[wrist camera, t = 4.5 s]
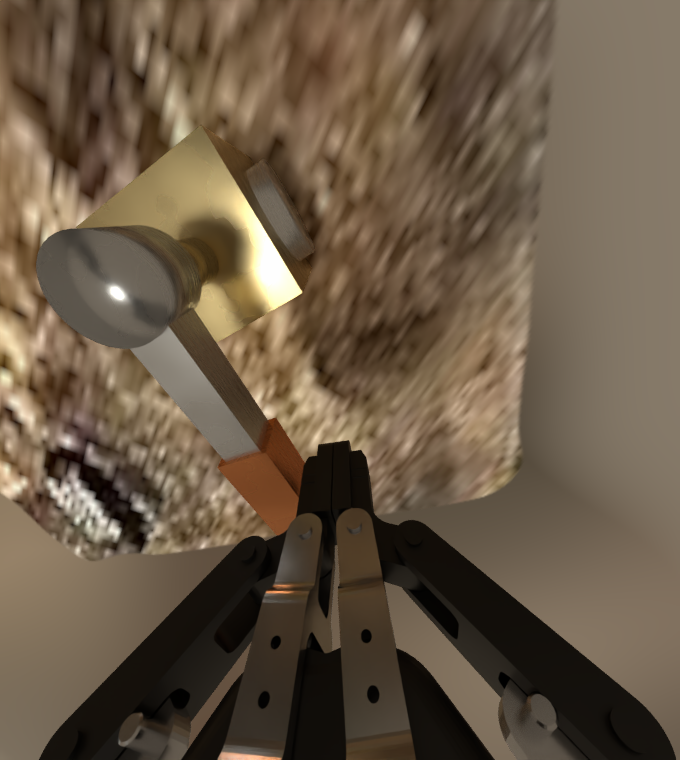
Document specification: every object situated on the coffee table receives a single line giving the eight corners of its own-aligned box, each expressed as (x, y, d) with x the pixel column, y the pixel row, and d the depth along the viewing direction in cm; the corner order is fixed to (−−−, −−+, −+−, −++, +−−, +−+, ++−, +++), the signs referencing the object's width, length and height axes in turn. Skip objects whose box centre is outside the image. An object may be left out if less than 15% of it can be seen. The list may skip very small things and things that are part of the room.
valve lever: (81, 248, 9) (6, 258, 7) (161, 207, 9) (105, 206, 7) (283, 505, 16) (275, 549, 14) (334, 491, 16) (334, 535, 14)
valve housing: (150, 231, 18) (-18, 247, 10) (263, 146, 16) (181, 68, 7) (222, 322, 22) (145, 397, 13) (324, 261, 19) (317, 300, 11)
